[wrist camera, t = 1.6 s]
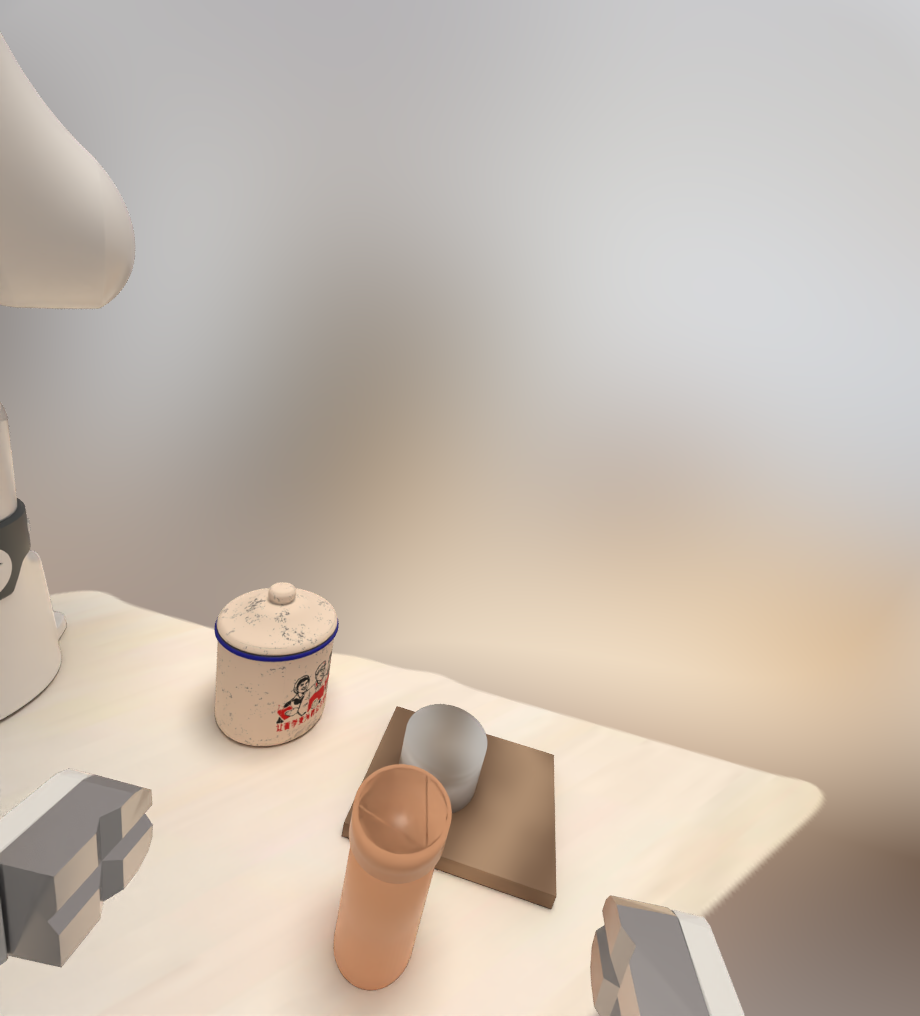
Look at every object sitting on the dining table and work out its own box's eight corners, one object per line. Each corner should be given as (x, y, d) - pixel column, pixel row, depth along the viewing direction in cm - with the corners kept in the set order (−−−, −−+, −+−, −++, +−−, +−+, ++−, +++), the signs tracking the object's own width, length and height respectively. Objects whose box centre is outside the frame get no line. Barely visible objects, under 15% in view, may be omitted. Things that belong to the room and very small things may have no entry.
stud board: (341, 835, 30) (351, 776, 28) (394, 717, 40) (404, 669, 39) (551, 908, 28) (574, 851, 27) (549, 765, 39) (566, 717, 37)
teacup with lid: (290, 768, 34) (305, 636, 30) (183, 728, 35) (185, 597, 31) (358, 670, 45) (374, 565, 41) (276, 643, 46) (285, 539, 43)
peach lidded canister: (313, 975, 23) (335, 838, 20) (351, 877, 28) (374, 753, 25) (402, 1010, 23) (439, 874, 19) (426, 904, 27) (459, 780, 24)
